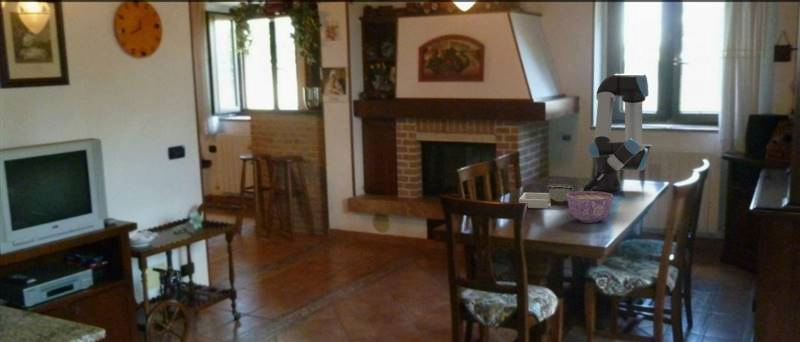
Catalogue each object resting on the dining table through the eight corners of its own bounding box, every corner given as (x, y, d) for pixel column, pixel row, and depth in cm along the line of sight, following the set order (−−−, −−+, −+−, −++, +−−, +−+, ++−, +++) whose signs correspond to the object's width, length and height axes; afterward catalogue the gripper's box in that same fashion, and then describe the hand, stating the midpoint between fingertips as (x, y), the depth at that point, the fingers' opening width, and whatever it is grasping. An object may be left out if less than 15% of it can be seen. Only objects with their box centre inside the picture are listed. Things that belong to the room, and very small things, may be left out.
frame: (551, 201, 375) (551, 193, 374) (548, 208, 358) (548, 200, 357) (524, 200, 379) (524, 192, 378) (519, 207, 362) (519, 199, 361)
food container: (574, 204, 366) (574, 184, 364) (573, 206, 360) (573, 186, 358) (549, 203, 370) (549, 183, 368) (547, 205, 364) (547, 185, 362)
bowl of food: (605, 227, 315) (605, 200, 313) (559, 223, 325) (559, 197, 323) (618, 218, 331) (619, 192, 330) (574, 214, 342) (575, 189, 340)
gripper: (606, 157, 362) (571, 191, 369) (605, 161, 349) (569, 195, 356) (617, 169, 361) (582, 201, 368) (617, 173, 348) (580, 206, 356)
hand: (575, 198), depth 362 cm, fingers closed
